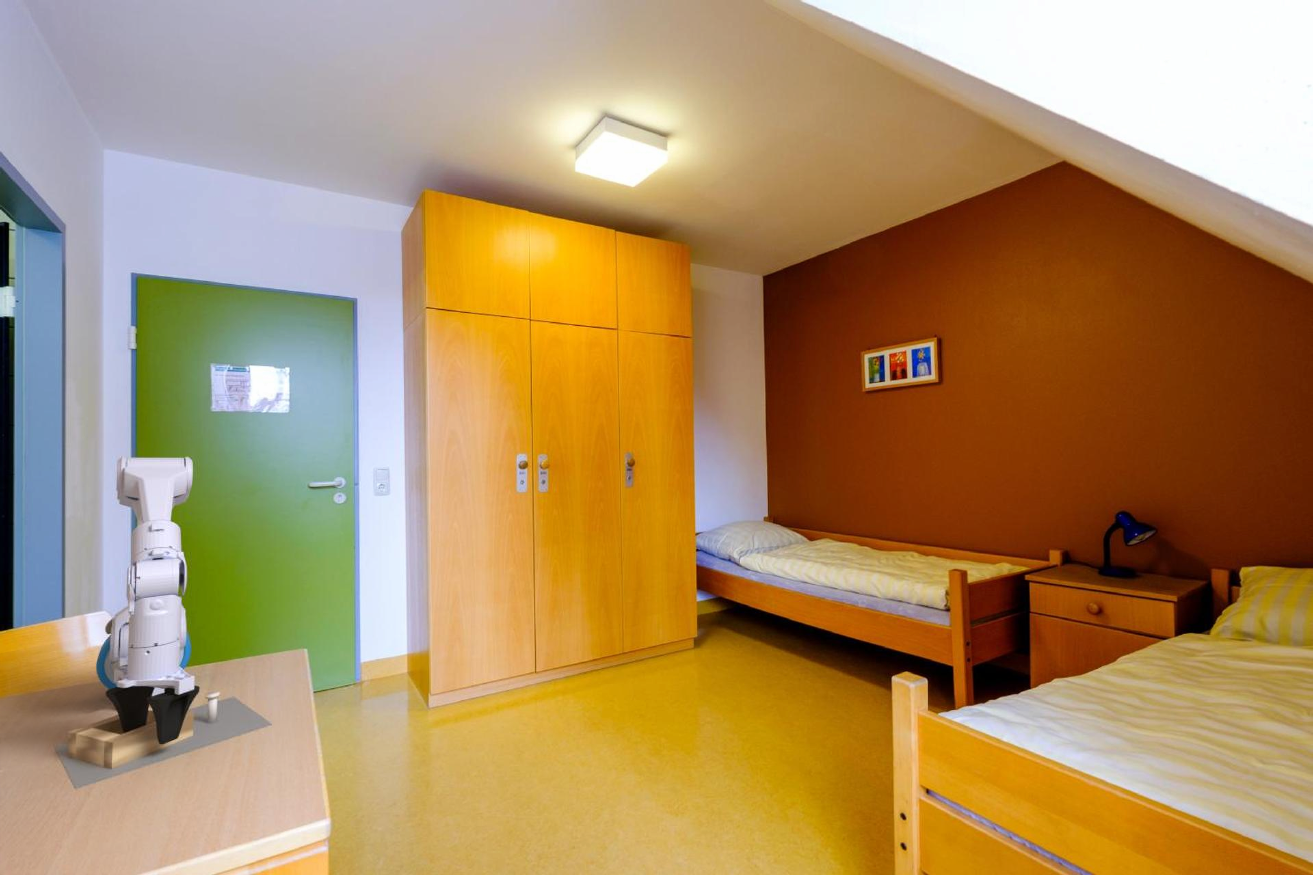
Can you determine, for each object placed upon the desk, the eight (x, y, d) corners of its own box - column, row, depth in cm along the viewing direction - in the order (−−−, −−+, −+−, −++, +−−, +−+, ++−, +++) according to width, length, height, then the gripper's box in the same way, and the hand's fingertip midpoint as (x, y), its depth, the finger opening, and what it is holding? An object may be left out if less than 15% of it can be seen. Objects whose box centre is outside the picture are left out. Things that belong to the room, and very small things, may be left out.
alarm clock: (94, 705, 100) (97, 619, 100) (97, 694, 104) (100, 612, 105) (190, 685, 108) (192, 607, 109) (188, 676, 113) (191, 601, 114)
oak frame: (67, 756, 80) (68, 731, 80) (150, 725, 89) (151, 703, 89) (111, 768, 76) (112, 742, 77) (192, 735, 86) (193, 711, 86)
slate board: (53, 754, 82) (55, 716, 83) (233, 703, 100) (234, 671, 100) (75, 798, 72) (77, 753, 72) (272, 731, 89) (273, 696, 90)
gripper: (89, 645, 81) (85, 742, 80) (155, 655, 76) (151, 758, 75) (147, 631, 87) (144, 720, 87) (211, 640, 83) (208, 734, 82)
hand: (151, 736), depth 81 cm, fingers open, 7 cm apart
